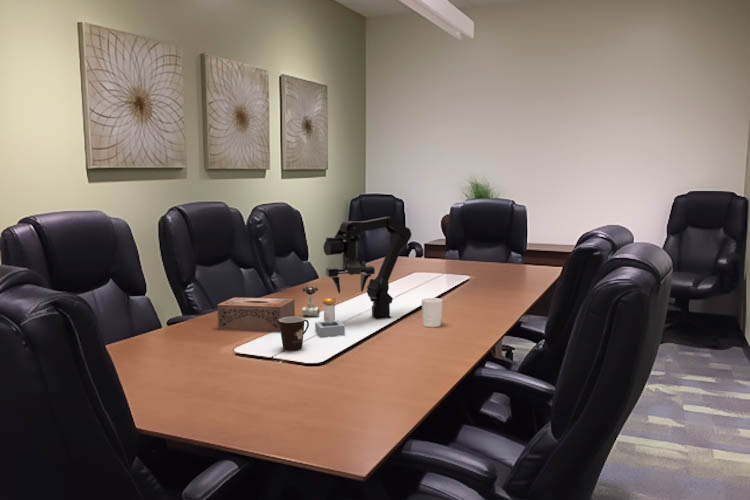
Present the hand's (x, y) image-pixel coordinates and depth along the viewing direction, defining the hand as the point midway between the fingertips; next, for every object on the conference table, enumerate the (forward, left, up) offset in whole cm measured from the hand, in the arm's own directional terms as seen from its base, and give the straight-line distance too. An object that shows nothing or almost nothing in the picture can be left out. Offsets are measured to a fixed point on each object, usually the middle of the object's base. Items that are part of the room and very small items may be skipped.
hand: (350, 292), depth 239 cm
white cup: (-28, +16, -12) cm, 34 cm away
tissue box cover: (+36, -7, -12) cm, 39 cm away
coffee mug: (+27, +29, -12) cm, 41 cm away
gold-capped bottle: (+12, +14, -12) cm, 22 cm away
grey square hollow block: (+12, +14, -12) cm, 22 cm away
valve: (+13, -16, -12) cm, 24 cm away
